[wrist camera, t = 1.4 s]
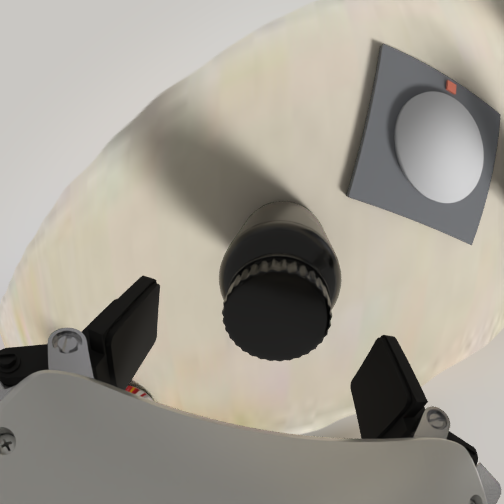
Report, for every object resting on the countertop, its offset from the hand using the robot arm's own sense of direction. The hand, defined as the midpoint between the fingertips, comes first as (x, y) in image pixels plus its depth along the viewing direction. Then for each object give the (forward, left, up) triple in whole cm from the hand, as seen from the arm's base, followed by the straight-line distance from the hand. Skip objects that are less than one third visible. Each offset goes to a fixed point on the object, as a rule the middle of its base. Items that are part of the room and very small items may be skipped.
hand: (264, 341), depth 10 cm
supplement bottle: (0, 0, -13) cm, 13 cm away
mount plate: (-11, -12, -13) cm, 21 cm away
